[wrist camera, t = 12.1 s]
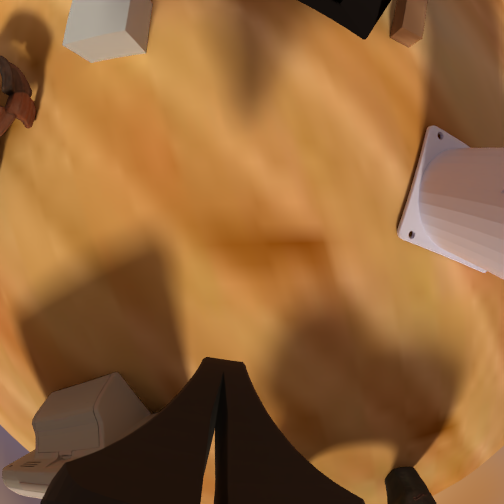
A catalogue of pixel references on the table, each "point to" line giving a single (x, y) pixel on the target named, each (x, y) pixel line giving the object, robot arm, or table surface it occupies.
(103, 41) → the light gray block
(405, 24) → the bay
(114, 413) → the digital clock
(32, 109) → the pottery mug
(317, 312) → the table surface
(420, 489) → the power drill
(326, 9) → the black boxy piece
